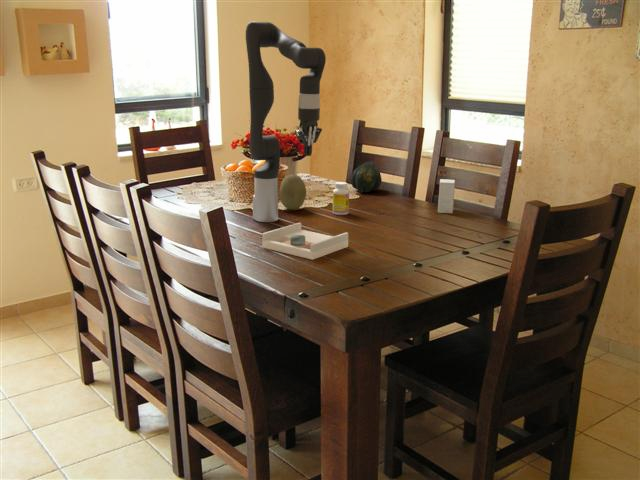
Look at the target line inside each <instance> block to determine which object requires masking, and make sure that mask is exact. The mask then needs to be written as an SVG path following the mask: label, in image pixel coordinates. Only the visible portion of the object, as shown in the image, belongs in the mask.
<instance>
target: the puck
mask: <svg viewBox="0 0 640 480" xmlns="http://www.w3.org/2000/svg"><path fill="white" fill-rule="evenodd" d="M291 245H294V246H302V245H305V236H304V235H292V236H291Z"/></svg>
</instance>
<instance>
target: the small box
mask: <svg viewBox="0 0 640 480" xmlns="http://www.w3.org/2000/svg"><path fill="white" fill-rule="evenodd" d="M455 187H456V180H455V179H447V178H446V179H443V178H440V179H439V188H438V189H439V190H438V202H437V203H438V204H437V205H438V206H437V213H439V214H440V213H441V214H454V213H453V212H454V201H455V189H456V188H455Z"/></svg>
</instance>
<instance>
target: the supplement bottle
mask: <svg viewBox="0 0 640 480" xmlns="http://www.w3.org/2000/svg"><path fill="white" fill-rule="evenodd" d="M347 186H348V183H347V182H344V181H336V182H335V188H334V189H333V191H332V214H333V215H337V216H345V215H348V214H349V213H350V212H349V208H350V205H349V204H350V190H349V189H348V188H347Z"/></svg>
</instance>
